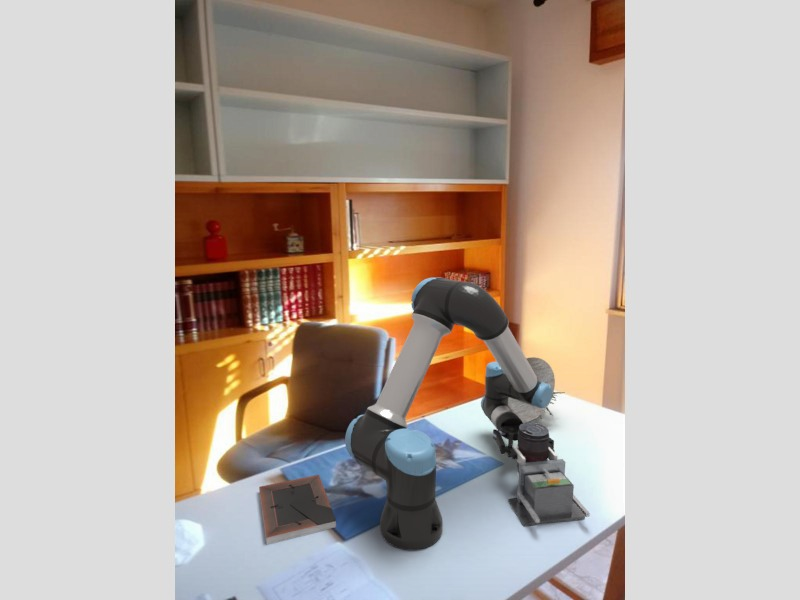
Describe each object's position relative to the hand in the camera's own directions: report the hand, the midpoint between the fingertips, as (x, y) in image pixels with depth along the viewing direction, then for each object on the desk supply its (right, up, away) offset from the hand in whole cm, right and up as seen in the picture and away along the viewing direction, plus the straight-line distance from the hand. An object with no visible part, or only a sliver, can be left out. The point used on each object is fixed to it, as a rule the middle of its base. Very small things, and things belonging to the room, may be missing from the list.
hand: (539, 461), depth 121 cm
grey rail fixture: (+1, -11, -5) cm, 12 cm away
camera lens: (0, -7, +6) cm, 9 cm away
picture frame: (-63, -13, 0) cm, 65 cm away
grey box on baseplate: (+1, -12, -3) cm, 12 cm away
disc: (+12, -1, +52) cm, 54 cm away
